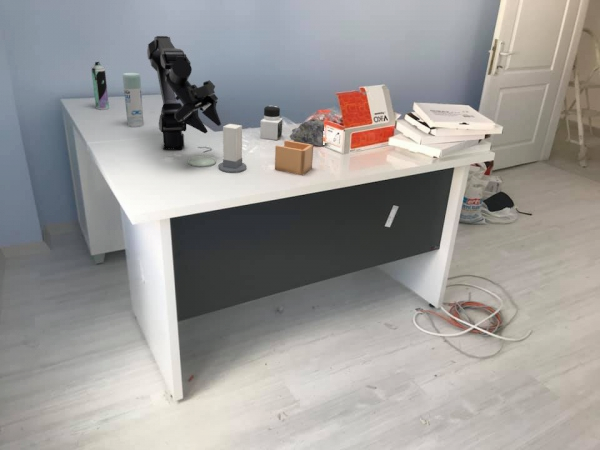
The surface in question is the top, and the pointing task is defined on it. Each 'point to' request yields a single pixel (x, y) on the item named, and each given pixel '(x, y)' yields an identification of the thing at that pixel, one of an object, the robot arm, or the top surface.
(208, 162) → the pad pale
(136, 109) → the spray paint can
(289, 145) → the chute
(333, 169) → the top surface
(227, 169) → the pad dark
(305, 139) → the mineral rock
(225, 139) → the tall white pillar block
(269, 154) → the top surface
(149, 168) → the top surface
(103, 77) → the spray can
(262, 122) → the medicine bottle
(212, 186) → the top surface
